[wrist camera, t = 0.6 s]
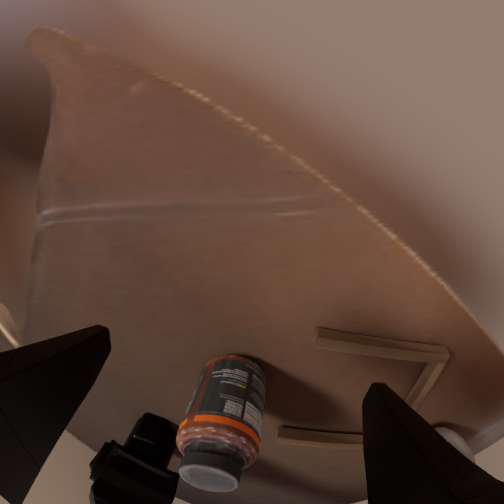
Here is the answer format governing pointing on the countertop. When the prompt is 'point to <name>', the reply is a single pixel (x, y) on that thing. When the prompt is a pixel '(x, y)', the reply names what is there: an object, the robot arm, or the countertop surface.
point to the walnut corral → (374, 348)
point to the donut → (456, 442)
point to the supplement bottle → (222, 423)
